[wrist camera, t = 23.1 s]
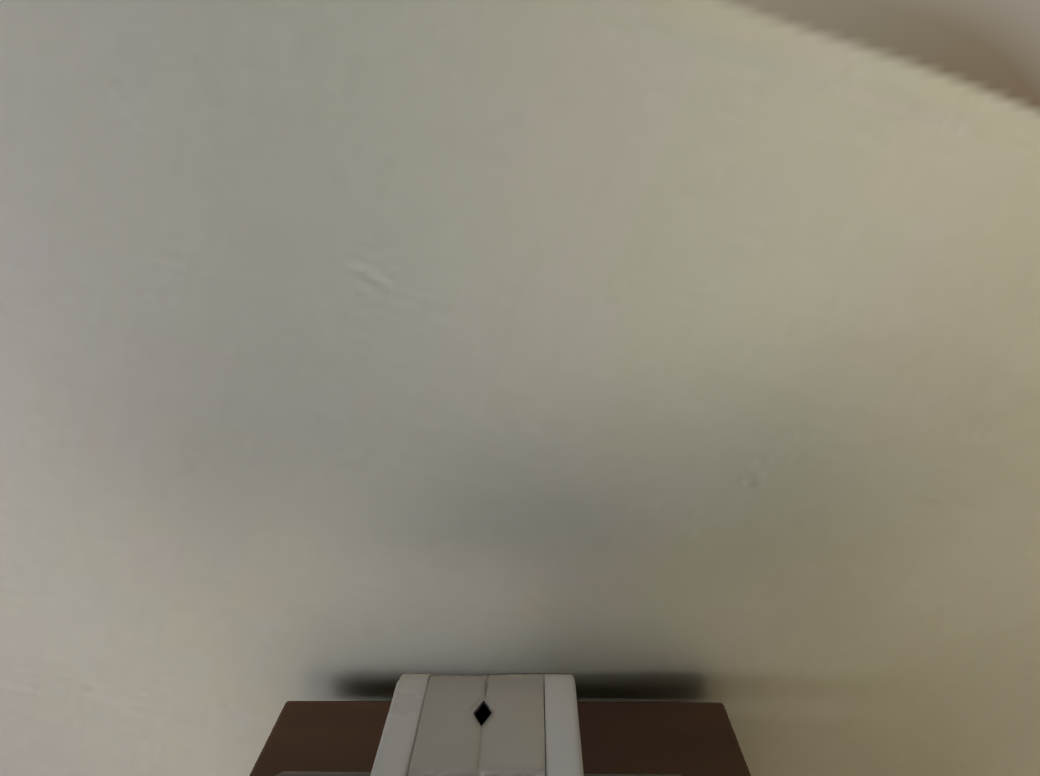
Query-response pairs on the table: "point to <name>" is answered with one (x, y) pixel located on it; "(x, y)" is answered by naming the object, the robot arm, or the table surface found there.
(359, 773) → the drawer
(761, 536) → the table surface
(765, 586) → the table surface
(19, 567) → the table surface
